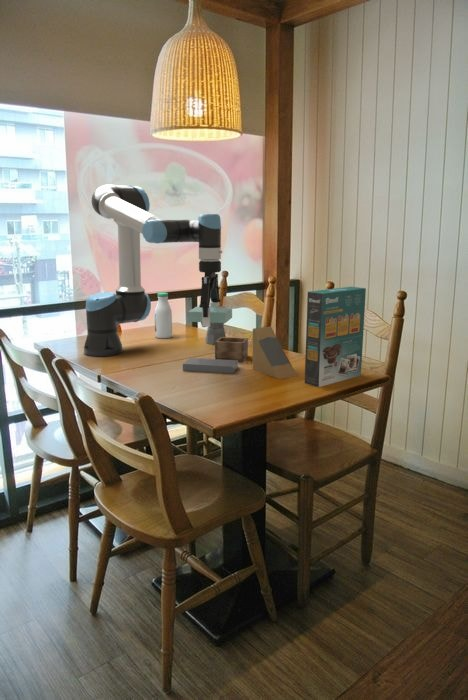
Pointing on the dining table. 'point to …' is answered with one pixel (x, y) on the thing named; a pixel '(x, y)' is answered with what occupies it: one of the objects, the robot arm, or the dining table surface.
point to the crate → (231, 348)
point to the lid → (211, 315)
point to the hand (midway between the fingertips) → (210, 323)
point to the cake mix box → (334, 335)
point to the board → (210, 365)
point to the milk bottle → (163, 317)
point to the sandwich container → (270, 354)
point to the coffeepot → (215, 331)
